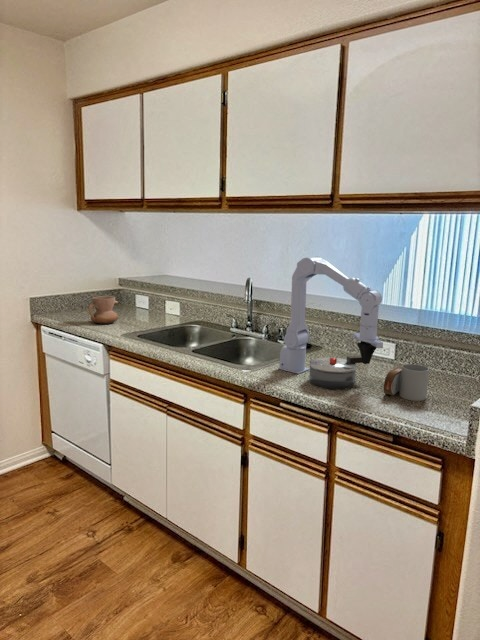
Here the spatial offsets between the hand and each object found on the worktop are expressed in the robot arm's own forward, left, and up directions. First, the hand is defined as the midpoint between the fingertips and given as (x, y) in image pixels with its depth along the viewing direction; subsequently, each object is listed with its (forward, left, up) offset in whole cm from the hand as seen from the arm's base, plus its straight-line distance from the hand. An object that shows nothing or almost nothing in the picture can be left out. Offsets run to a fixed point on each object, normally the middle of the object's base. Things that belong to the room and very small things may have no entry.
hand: (365, 363), depth 171 cm
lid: (-9, -3, -2) cm, 9 cm away
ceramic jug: (-153, 0, -8) cm, 153 cm away
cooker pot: (-10, -3, -8) cm, 13 cm away
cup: (+17, +1, -8) cm, 19 cm away
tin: (+11, +1, -8) cm, 14 cm away
